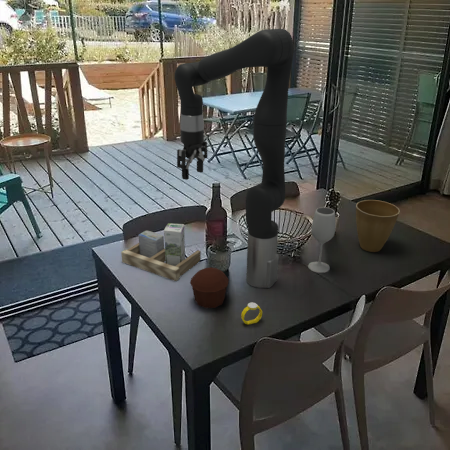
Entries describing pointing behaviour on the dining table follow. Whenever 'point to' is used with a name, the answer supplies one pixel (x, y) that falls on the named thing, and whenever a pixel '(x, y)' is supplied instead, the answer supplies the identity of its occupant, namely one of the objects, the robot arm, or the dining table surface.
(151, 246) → the medicine box
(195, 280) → the muffin
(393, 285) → the dining table surface
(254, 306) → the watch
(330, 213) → the wineglass
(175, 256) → the syrup box
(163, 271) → the wooden tray
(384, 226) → the plant pot
